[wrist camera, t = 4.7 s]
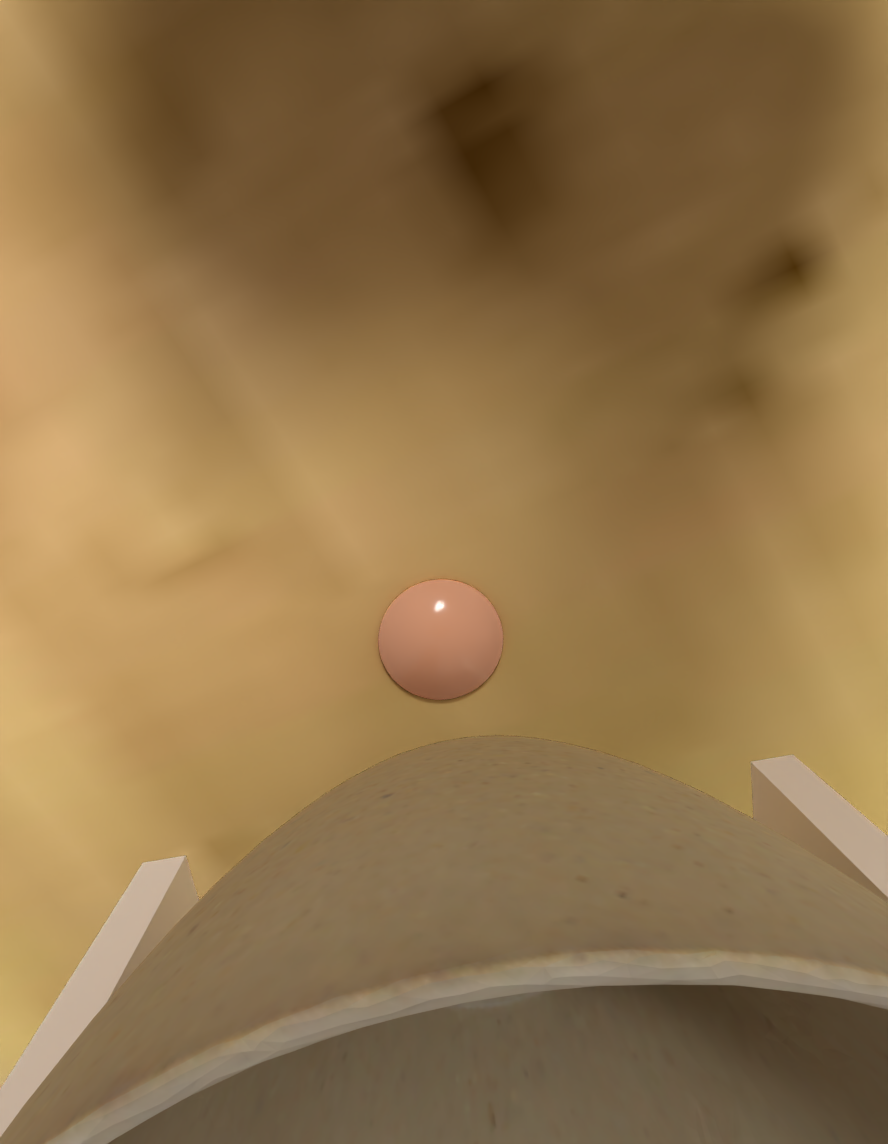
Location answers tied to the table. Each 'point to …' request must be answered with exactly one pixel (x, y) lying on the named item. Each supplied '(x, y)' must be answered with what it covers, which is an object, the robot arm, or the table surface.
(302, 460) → the table surface
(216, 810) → the table surface
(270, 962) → the flower pot
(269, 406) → the table surface
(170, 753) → the table surface
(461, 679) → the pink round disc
